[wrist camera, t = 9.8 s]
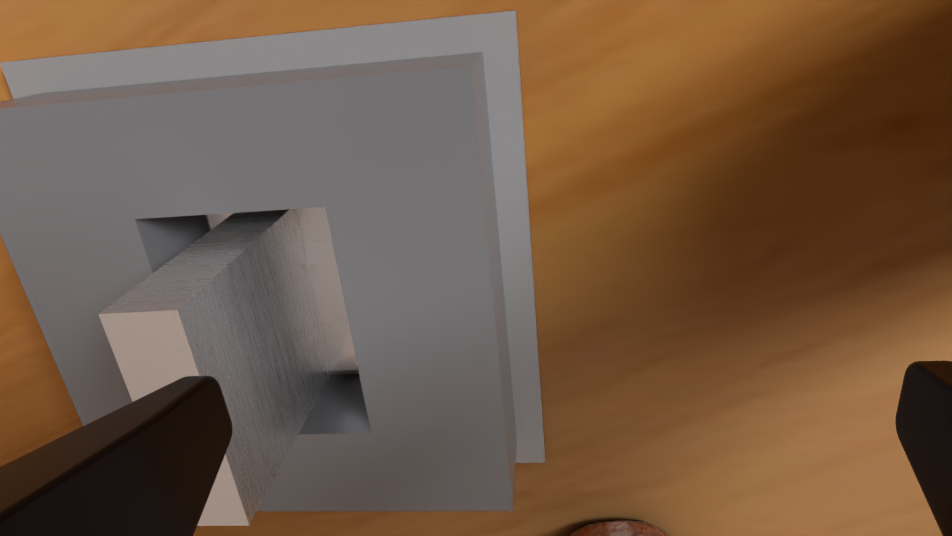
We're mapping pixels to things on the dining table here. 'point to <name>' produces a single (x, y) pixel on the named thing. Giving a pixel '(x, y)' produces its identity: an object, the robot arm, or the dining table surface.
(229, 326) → the brushed grey block
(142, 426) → the robot arm
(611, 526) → the sauce bottle
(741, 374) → the dining table surface
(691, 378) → the dining table surface
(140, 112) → the well block
